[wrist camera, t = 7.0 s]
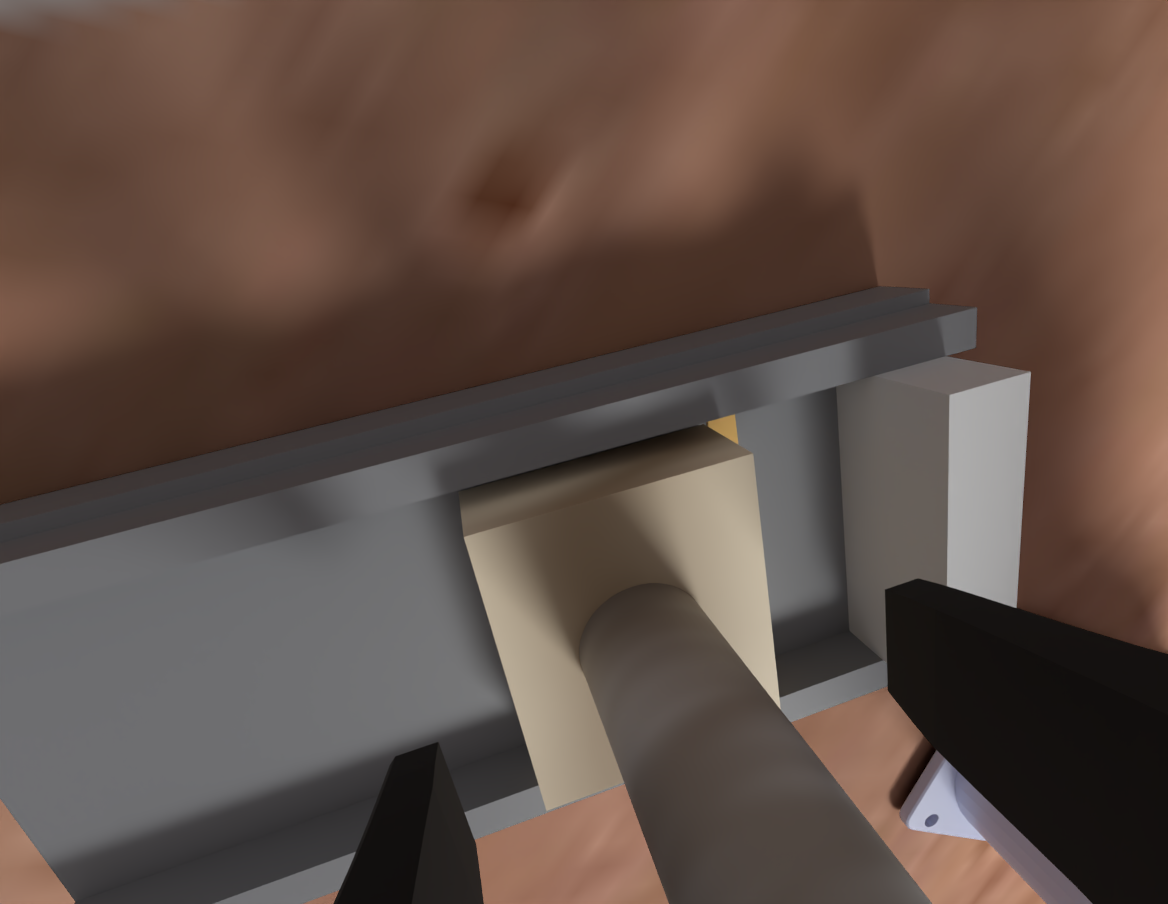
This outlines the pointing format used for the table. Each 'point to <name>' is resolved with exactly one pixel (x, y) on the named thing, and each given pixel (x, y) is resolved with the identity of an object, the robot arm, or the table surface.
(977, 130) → the table surface
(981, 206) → the table surface
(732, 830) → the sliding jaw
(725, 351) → the rail base
